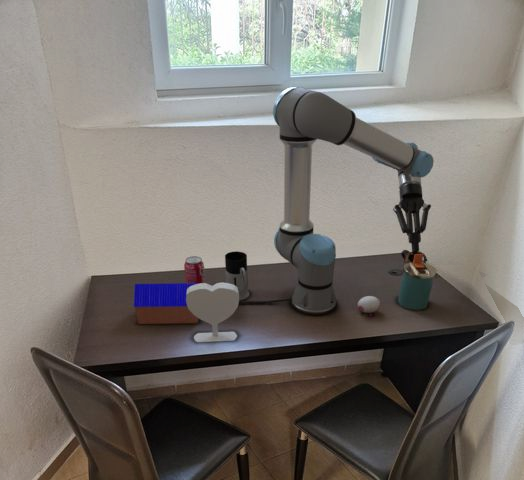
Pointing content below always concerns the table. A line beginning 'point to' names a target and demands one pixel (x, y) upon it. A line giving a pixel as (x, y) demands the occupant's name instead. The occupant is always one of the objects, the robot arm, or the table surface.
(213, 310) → the heart sculpture
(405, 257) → the pottery mug
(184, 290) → the house
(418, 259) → the slider
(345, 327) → the table surface
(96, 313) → the table surface
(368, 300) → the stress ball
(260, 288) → the table surface
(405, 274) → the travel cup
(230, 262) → the grey coffee mug
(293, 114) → the robot arm
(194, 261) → the soda can
